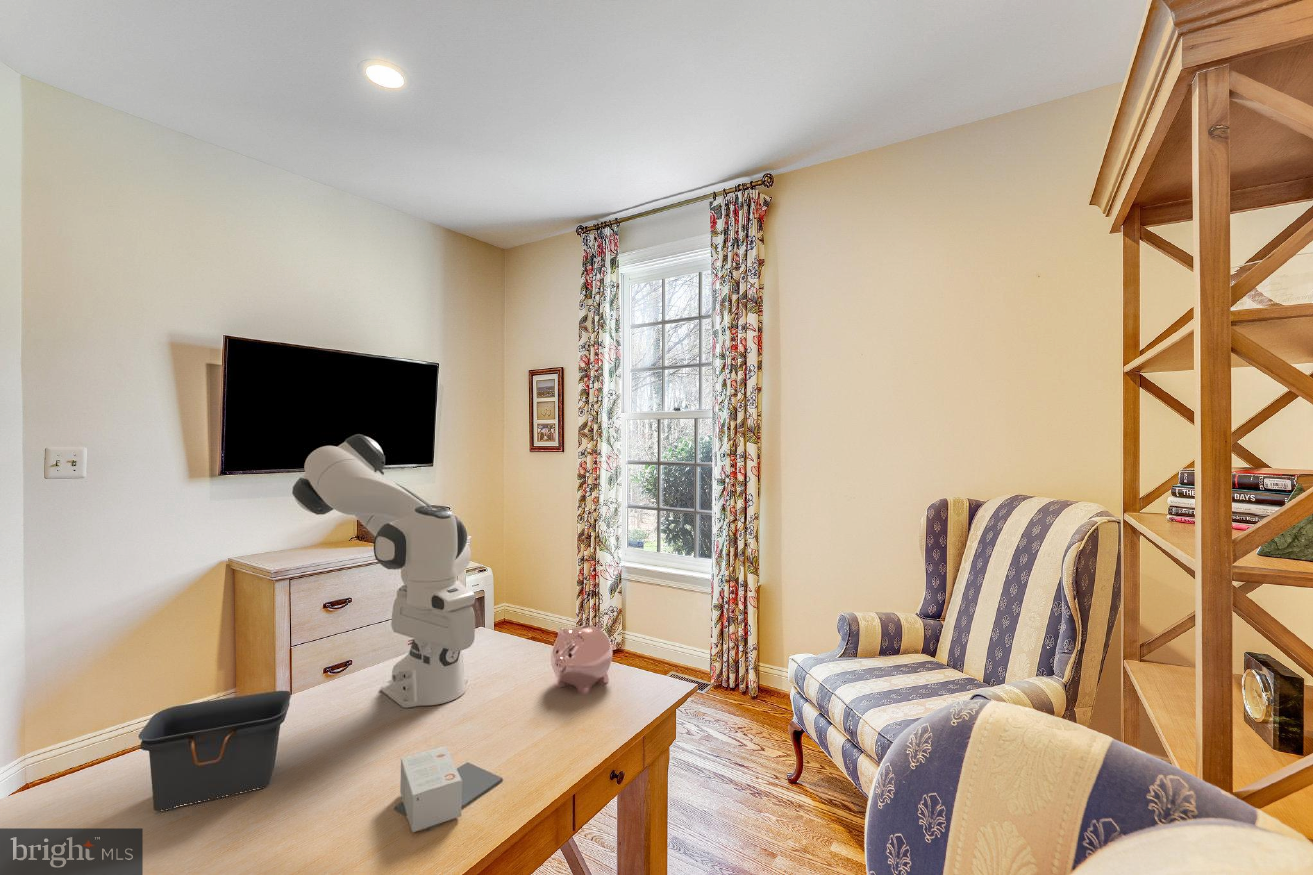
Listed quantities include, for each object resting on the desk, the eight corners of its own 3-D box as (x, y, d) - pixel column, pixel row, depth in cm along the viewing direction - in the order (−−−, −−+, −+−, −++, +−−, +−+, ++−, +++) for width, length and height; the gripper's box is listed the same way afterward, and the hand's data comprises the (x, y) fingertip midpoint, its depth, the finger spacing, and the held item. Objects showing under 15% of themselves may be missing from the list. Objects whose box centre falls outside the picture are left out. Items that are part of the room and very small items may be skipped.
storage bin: (291, 755, 113) (293, 685, 113) (282, 798, 100) (284, 719, 100) (156, 784, 103) (158, 708, 103) (125, 837, 89) (127, 749, 90)
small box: (399, 791, 101) (411, 834, 90) (400, 757, 101) (411, 795, 90) (445, 778, 105) (462, 816, 94) (446, 744, 106) (462, 779, 95)
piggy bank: (535, 690, 144) (536, 629, 144) (579, 666, 159) (580, 611, 160) (581, 705, 136) (582, 640, 136) (623, 679, 151) (623, 621, 152)
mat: (394, 809, 97) (394, 806, 97) (467, 764, 111) (467, 761, 111) (430, 830, 92) (430, 827, 92) (502, 780, 105) (502, 777, 105)
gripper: (383, 586, 108) (381, 657, 108) (453, 604, 97) (452, 682, 97) (412, 580, 113) (410, 647, 113) (481, 596, 103) (479, 669, 103)
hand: (430, 663), depth 105 cm, fingers closed
